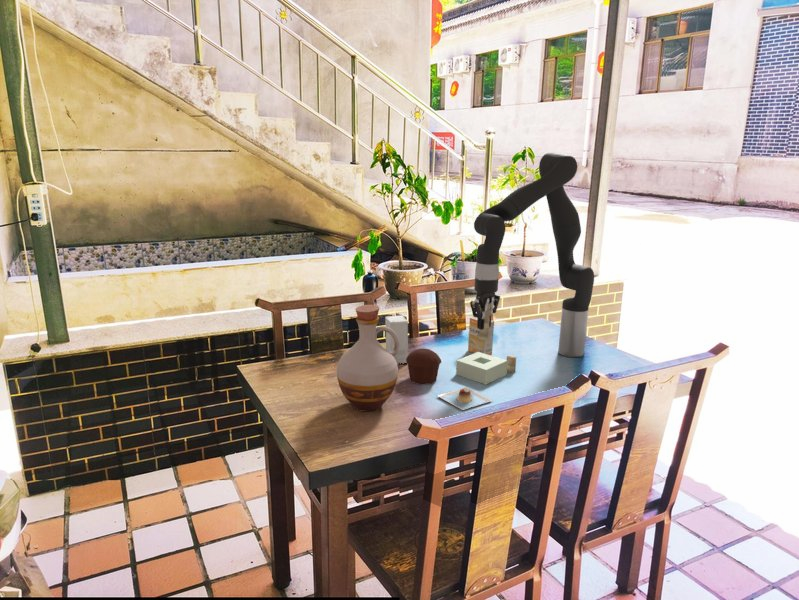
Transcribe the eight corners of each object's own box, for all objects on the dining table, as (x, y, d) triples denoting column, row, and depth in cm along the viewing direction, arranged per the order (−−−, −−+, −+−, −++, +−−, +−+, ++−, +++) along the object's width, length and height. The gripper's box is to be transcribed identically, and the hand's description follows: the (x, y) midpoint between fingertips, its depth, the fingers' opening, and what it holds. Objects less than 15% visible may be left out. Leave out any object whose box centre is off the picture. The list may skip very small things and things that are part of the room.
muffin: (398, 379, 196) (398, 350, 193) (418, 370, 205) (418, 342, 202) (428, 389, 189) (429, 359, 186) (447, 378, 198) (448, 349, 195)
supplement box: (467, 351, 224) (468, 317, 220) (476, 348, 227) (477, 315, 223) (483, 357, 217) (485, 322, 214) (492, 354, 221) (494, 320, 217)
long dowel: (482, 336, 200) (484, 301, 197) (490, 338, 198) (492, 303, 195) (476, 338, 198) (478, 303, 195) (484, 340, 196) (486, 305, 193)
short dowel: (509, 368, 207) (510, 354, 206) (517, 370, 205) (518, 357, 204) (504, 370, 205) (504, 356, 204) (512, 373, 203) (512, 359, 202)
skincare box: (408, 364, 210) (409, 321, 206) (389, 365, 208) (390, 322, 204) (402, 355, 218) (403, 314, 214) (384, 357, 216) (384, 315, 212)
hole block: (477, 365, 210) (478, 351, 208) (506, 374, 202) (507, 360, 200) (456, 374, 201) (456, 360, 200) (485, 384, 193) (486, 369, 192)
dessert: (436, 398, 183) (436, 384, 182) (466, 390, 190) (466, 376, 189) (462, 413, 174) (463, 398, 173) (492, 403, 181) (493, 389, 179)
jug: (382, 387, 190) (383, 295, 182) (414, 408, 175) (416, 309, 167) (326, 401, 179) (324, 304, 172) (355, 424, 165) (354, 320, 157)
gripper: (489, 271, 200) (487, 321, 205) (464, 277, 190) (461, 329, 195) (508, 275, 195) (505, 325, 200) (483, 281, 185) (480, 335, 190)
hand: (483, 327), depth 197 cm, fingers closed on long dowel, 3 cm apart
